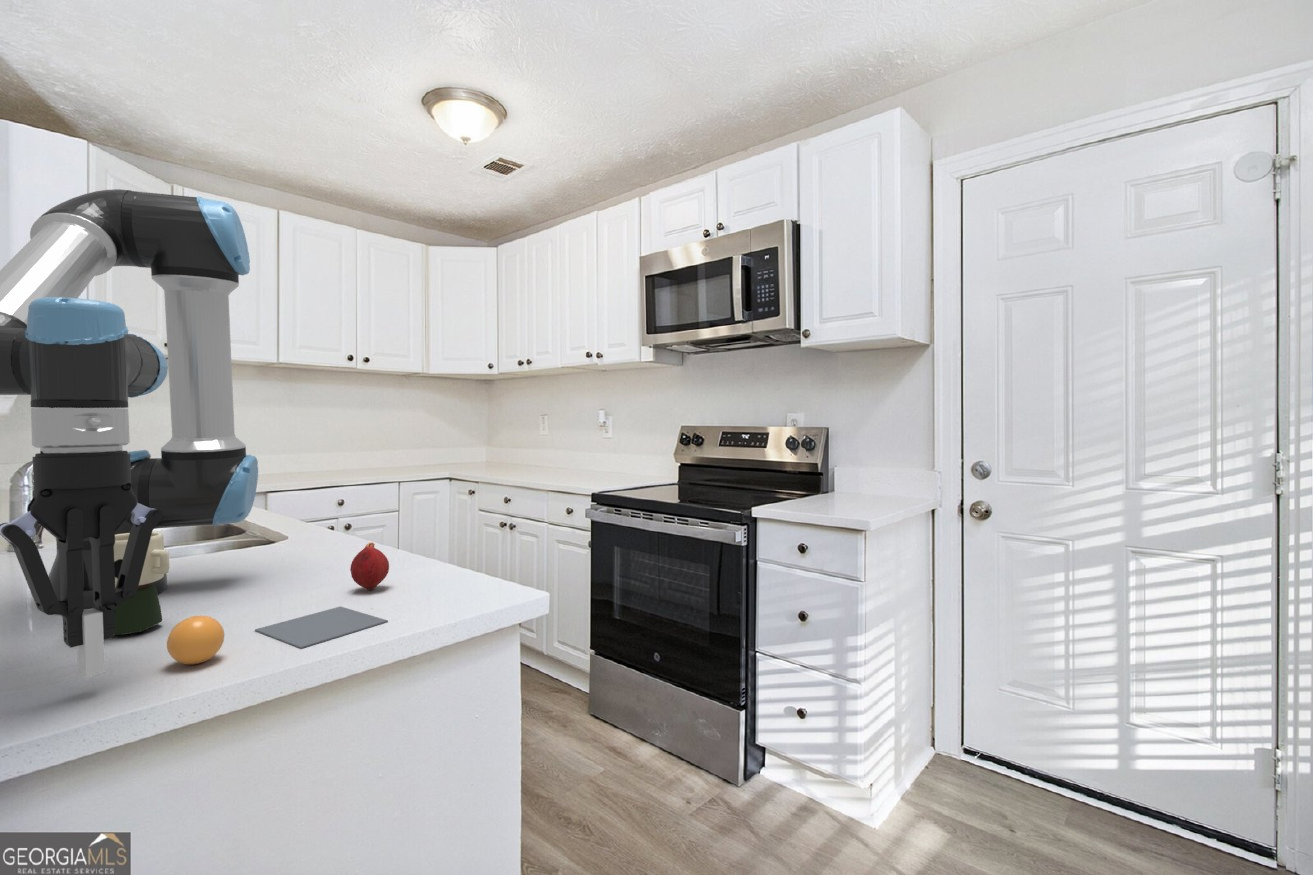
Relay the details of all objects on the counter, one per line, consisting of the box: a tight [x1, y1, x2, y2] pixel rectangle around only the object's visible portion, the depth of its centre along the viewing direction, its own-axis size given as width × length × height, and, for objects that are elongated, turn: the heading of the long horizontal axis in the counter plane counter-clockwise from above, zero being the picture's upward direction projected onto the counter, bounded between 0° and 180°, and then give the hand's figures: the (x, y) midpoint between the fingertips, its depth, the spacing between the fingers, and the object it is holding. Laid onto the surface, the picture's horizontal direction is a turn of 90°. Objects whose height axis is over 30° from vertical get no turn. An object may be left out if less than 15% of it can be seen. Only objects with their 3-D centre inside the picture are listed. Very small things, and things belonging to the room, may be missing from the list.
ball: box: [166, 615, 225, 665], centre depth 74 cm, size 6×6×6 cm
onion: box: [350, 541, 390, 591], centre depth 104 cm, size 6×6×8 cm
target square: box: [254, 605, 389, 649], centre depth 87 cm, size 12×12×1 cm
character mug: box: [114, 531, 170, 636], centre depth 85 cm, size 11×7×13 cm, turn 85°
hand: (91, 672), depth 66 cm, fingers closed
